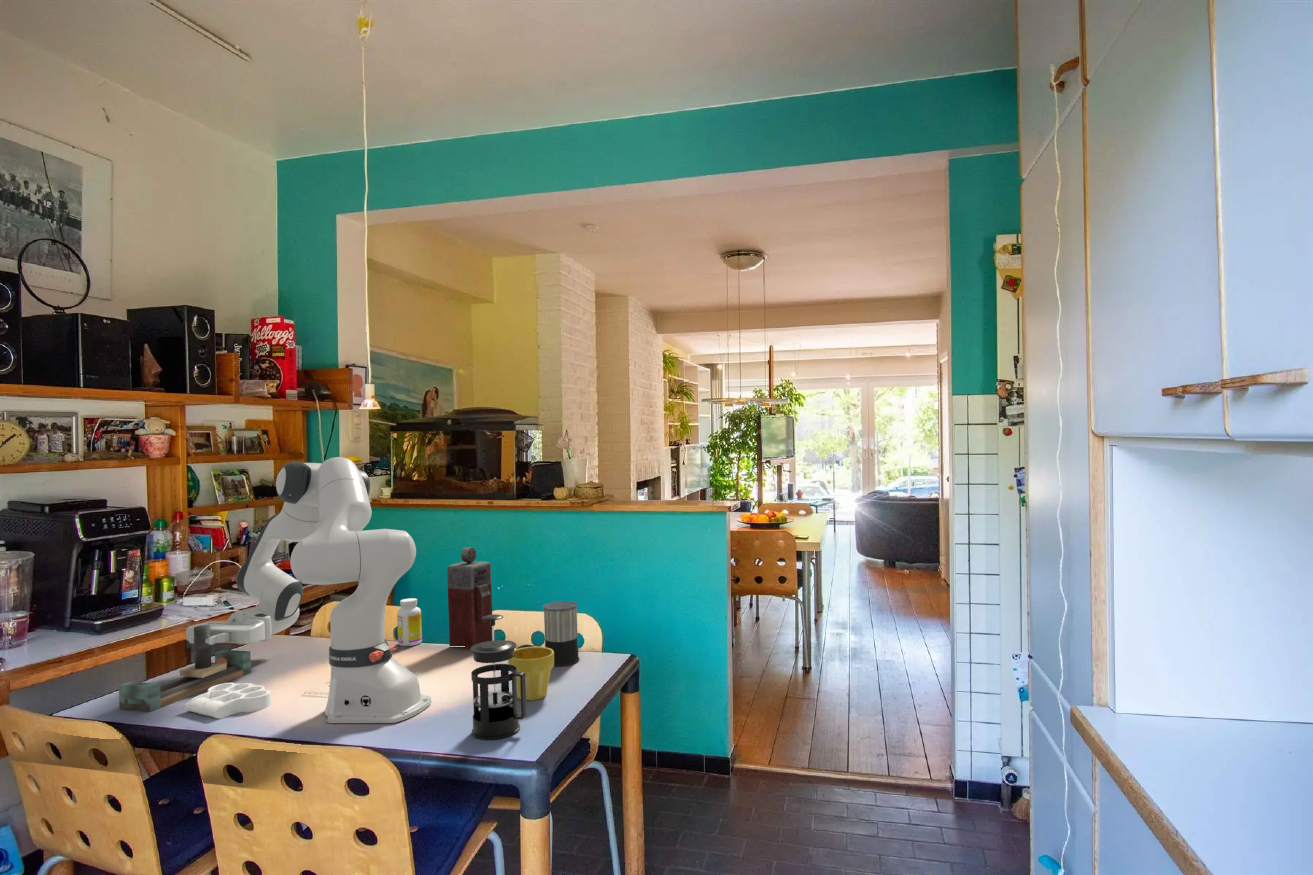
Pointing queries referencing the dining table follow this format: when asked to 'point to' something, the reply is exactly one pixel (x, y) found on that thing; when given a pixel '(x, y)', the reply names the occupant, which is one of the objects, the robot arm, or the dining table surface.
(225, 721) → the dining table surface
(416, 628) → the supplement bottle
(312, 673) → the dining table surface
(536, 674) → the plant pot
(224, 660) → the button
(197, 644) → the cylinder
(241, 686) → the white paint palette
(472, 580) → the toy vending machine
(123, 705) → the rail track
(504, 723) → the french press
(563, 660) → the milk frother
